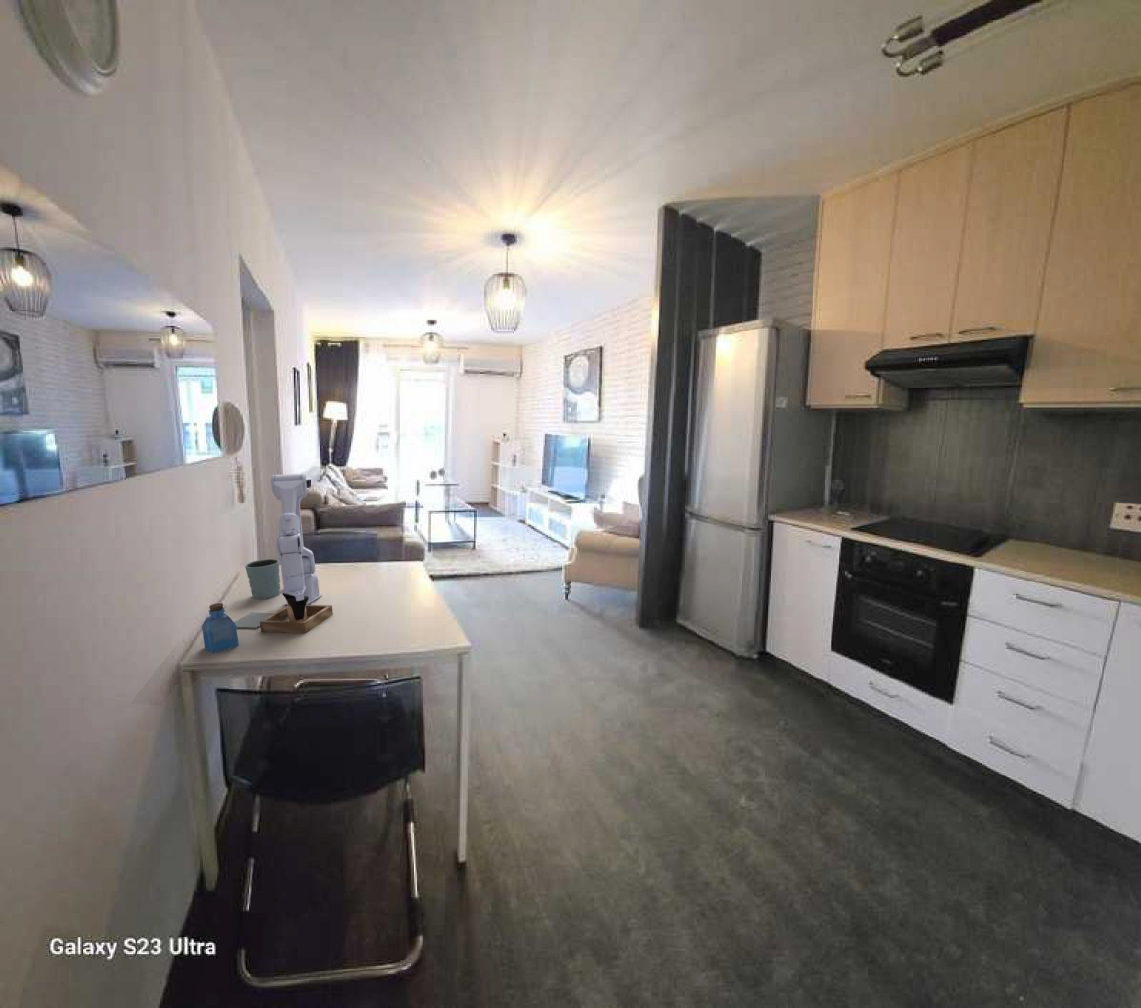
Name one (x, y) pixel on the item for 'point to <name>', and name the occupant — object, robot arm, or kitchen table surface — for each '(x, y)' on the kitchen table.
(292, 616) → the terracotta pot
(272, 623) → the wooden square frame
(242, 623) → the slate mat
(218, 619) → the perfume bottle
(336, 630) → the kitchen table surface
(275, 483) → the robot arm
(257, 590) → the green pot
